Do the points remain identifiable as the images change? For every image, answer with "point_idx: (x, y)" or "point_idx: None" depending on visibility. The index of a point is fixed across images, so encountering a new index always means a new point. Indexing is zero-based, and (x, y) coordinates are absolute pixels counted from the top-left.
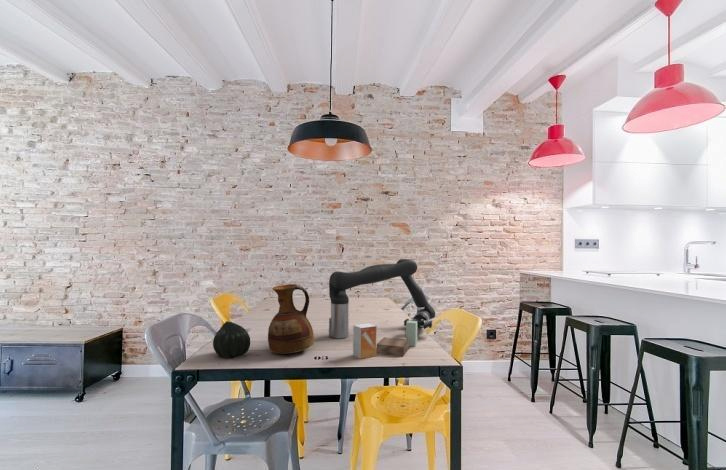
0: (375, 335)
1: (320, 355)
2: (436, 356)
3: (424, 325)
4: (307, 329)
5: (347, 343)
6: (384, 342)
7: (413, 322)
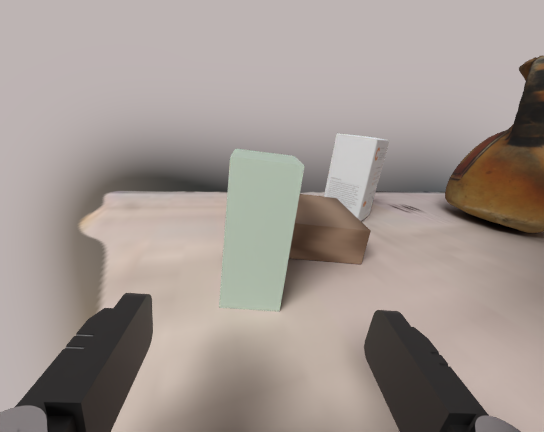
0: (331, 160)
1: (420, 213)
2: (145, 217)
3: (136, 295)
4: (469, 164)
5: (489, 266)
6: (326, 203)
7: (251, 152)
